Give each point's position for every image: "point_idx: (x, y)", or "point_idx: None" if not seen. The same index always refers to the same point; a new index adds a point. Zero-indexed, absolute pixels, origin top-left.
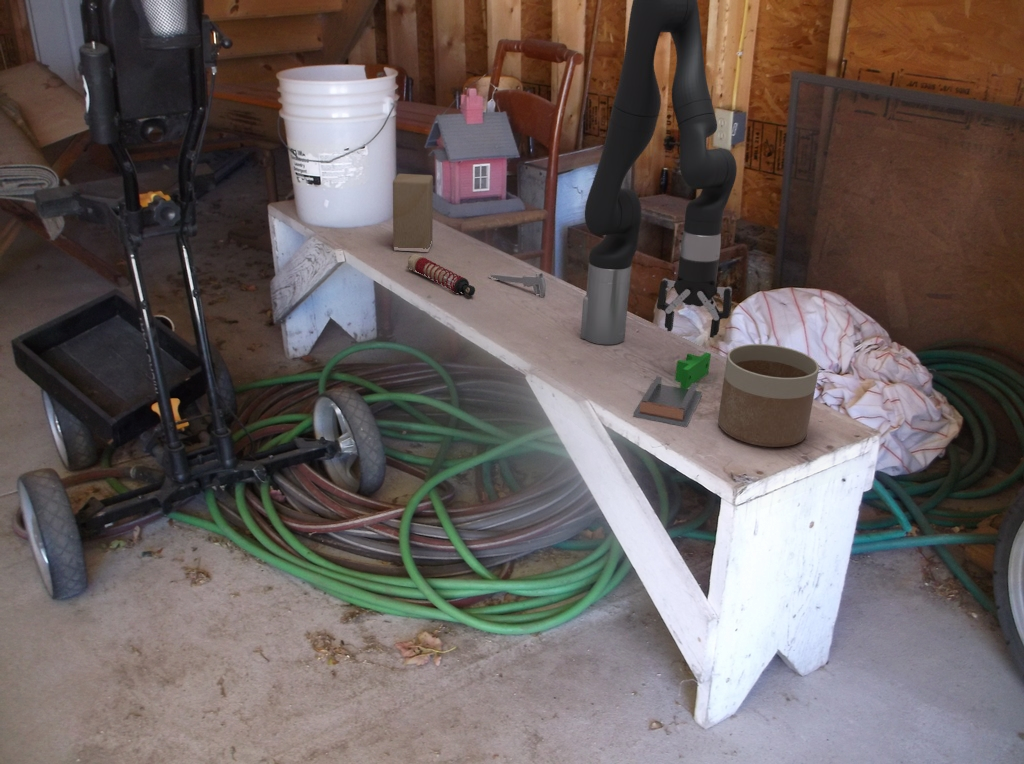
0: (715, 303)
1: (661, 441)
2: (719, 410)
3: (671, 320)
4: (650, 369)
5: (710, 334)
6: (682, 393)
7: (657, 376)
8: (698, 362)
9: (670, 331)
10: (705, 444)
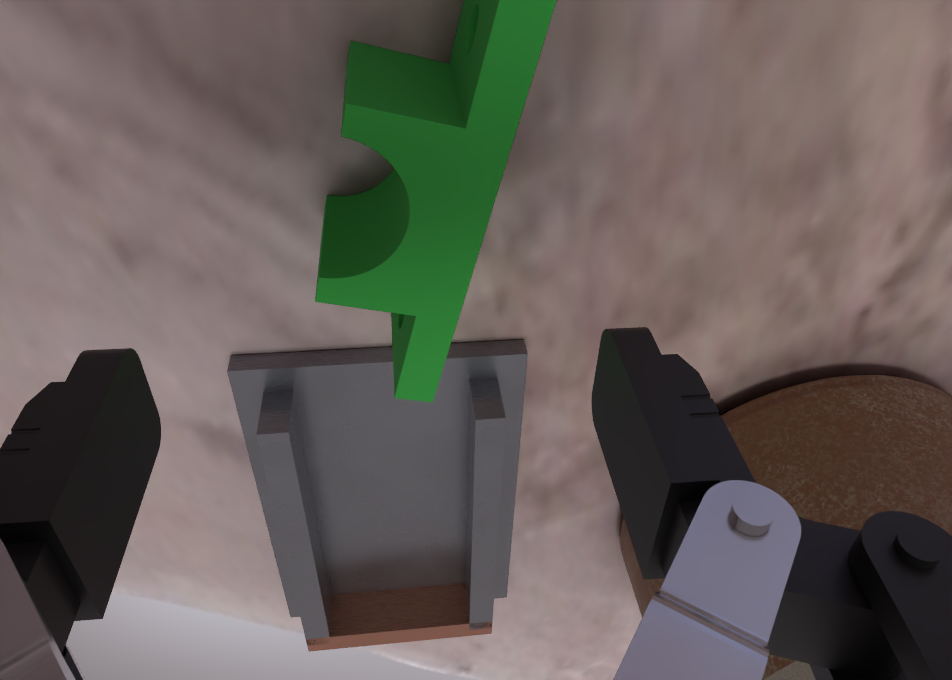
0: (760, 675)
1: (443, 666)
2: (634, 588)
3: (125, 547)
4: (80, 109)
5: (602, 436)
6: (429, 412)
7: (260, 436)
8: (476, 258)
9: (157, 423)
10: (581, 631)
